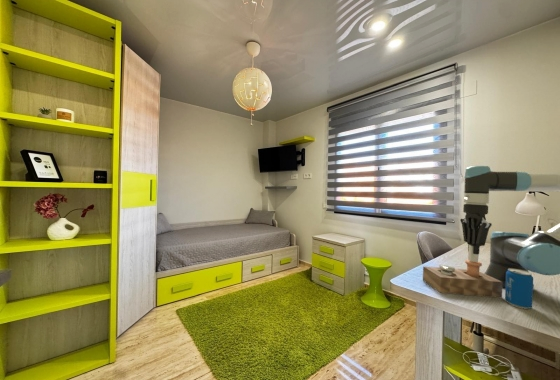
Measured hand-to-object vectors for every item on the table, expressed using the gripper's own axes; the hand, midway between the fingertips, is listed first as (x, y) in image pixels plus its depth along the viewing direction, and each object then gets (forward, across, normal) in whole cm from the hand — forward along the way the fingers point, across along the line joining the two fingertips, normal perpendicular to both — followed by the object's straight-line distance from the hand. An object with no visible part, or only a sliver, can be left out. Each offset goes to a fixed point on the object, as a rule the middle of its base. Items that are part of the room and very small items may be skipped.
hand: (473, 261), depth 88 cm
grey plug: (+10, 0, -10) cm, 14 cm away
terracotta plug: (+7, 0, 0) cm, 7 cm away
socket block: (+12, 0, -5) cm, 12 cm away
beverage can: (+12, +11, +7) cm, 18 cm away
